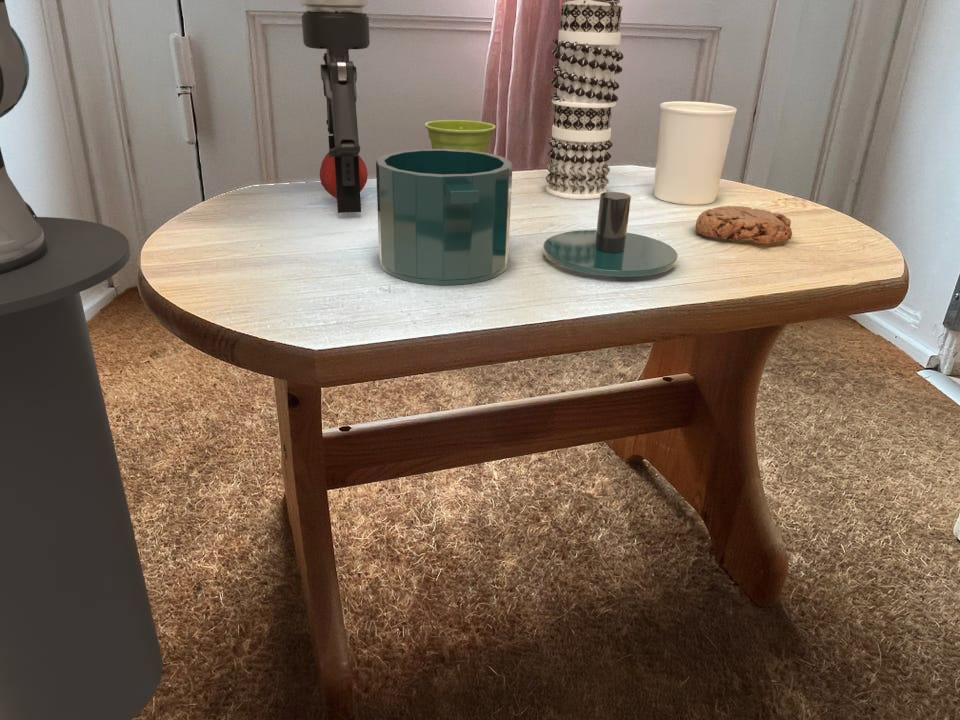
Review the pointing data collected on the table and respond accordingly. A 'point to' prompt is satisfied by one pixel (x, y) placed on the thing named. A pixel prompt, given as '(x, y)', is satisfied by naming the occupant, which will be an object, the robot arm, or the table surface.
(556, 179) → the decorative candle
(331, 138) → the robot arm
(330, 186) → the onion
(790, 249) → the table surface
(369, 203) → the table surface
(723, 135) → the white cup
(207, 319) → the table surface
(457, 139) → the plant pot
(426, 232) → the pot
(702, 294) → the table surface
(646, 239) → the pot lid
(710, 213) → the cookie
